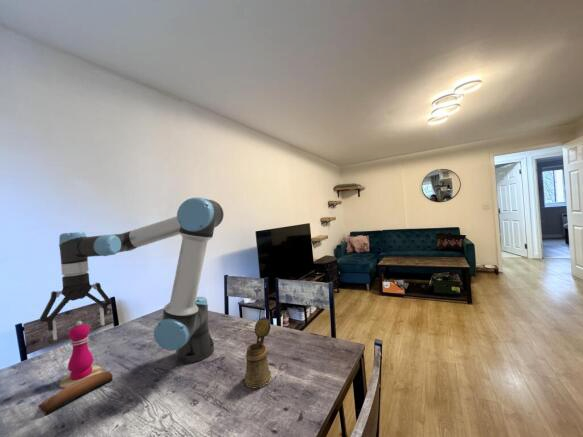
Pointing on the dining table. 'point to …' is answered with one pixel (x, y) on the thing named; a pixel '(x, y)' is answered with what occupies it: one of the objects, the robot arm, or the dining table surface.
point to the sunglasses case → (74, 391)
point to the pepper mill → (80, 352)
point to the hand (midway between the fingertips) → (80, 331)
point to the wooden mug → (258, 357)
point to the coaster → (67, 381)
